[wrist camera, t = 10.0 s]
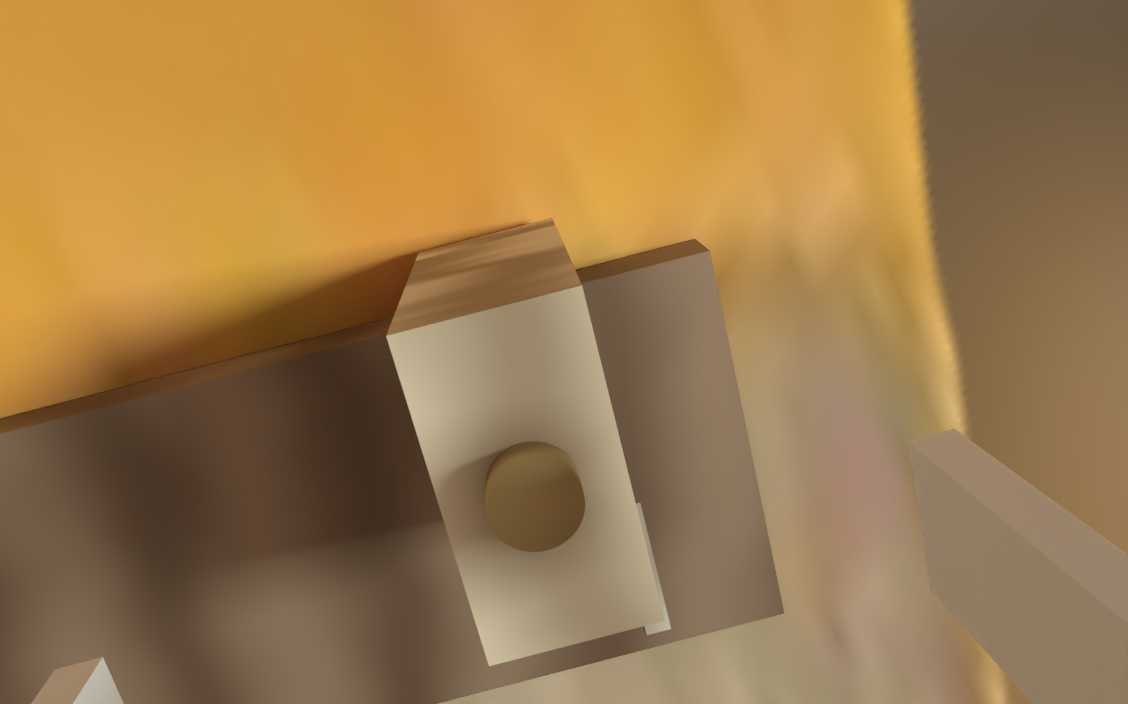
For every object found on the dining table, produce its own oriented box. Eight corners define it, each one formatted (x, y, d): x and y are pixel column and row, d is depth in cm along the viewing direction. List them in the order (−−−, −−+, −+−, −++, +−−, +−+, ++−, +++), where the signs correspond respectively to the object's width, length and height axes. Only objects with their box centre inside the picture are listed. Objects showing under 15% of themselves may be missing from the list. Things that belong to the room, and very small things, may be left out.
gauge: (488, 490, 30) (488, 694, 20) (418, 252, 28) (380, 349, 18) (612, 458, 30) (673, 645, 20) (551, 218, 28) (587, 296, 18)
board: (75, 761, 33) (49, 804, 31) (-77, 438, 29) (-118, 464, 27) (766, 581, 33) (784, 613, 31) (695, 239, 29) (709, 250, 27)
